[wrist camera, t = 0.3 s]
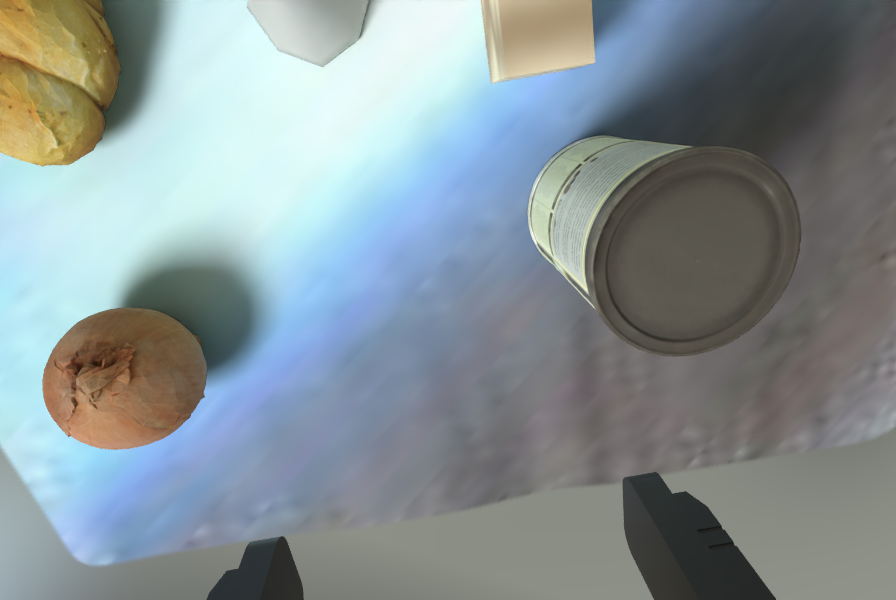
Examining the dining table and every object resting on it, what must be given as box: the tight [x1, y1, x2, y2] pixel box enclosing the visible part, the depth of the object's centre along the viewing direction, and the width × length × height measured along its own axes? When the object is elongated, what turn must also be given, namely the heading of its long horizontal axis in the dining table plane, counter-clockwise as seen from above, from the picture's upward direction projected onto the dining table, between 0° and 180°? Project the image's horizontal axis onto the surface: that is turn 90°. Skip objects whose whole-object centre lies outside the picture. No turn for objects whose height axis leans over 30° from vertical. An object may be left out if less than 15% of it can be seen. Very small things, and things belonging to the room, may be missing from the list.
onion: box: [43, 308, 207, 450], centre depth 35 cm, size 10×9×10 cm
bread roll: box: [0, 0, 121, 166], centre depth 28 cm, size 13×10×8 cm
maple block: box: [481, 0, 595, 84], centre depth 30 cm, size 5×5×6 cm
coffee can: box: [527, 136, 801, 357], centre depth 31 cm, size 10×10×14 cm
